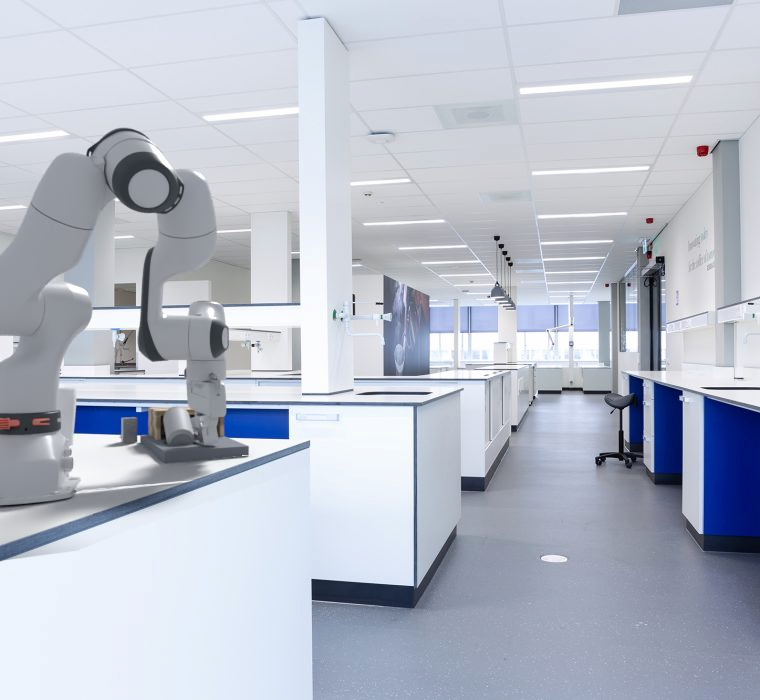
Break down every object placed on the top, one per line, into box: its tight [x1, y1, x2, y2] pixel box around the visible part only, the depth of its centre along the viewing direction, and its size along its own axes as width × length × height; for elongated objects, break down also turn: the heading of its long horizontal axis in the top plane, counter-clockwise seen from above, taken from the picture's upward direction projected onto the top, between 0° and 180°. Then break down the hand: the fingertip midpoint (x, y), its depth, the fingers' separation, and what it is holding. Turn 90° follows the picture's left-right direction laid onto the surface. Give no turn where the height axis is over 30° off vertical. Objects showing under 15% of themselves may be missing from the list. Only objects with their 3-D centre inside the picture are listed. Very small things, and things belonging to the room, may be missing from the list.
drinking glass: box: [58, 387, 77, 447], centre depth 179 cm, size 7×7×15 cm
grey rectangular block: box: [190, 413, 219, 446], centre depth 171 cm, size 21×8×7 cm, turn 33°
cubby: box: [147, 405, 225, 440], centre depth 183 cm, size 12×17×7 cm
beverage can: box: [163, 405, 195, 445], centre depth 170 cm, size 6×6×12 cm
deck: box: [139, 434, 250, 464], centre depth 173 cm, size 34×19×2 cm, turn 28°
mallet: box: [119, 416, 138, 444], centre depth 188 cm, size 14×4×7 cm, turn 28°
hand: (206, 432), depth 160 cm, fingers open, 7 cm apart
